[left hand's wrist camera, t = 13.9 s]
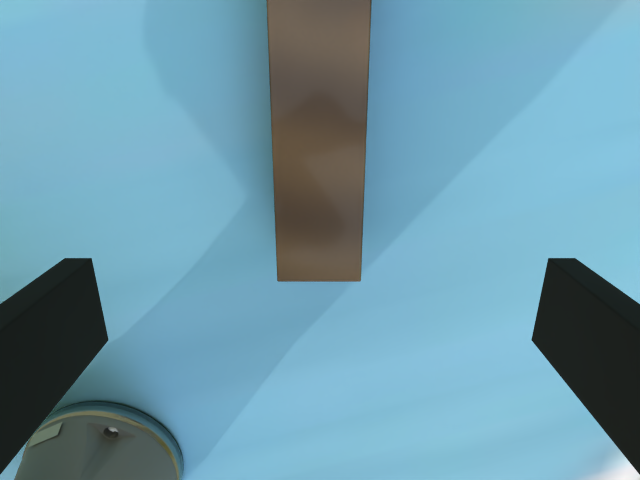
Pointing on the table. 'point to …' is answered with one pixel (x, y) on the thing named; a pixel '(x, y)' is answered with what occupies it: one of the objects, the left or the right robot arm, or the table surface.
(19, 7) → the table surface
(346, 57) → the bar
